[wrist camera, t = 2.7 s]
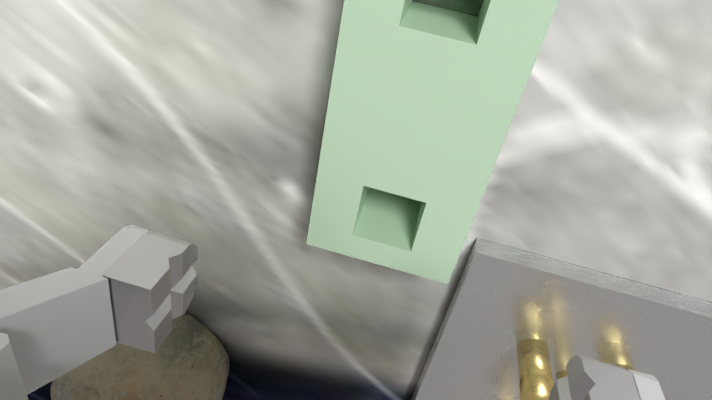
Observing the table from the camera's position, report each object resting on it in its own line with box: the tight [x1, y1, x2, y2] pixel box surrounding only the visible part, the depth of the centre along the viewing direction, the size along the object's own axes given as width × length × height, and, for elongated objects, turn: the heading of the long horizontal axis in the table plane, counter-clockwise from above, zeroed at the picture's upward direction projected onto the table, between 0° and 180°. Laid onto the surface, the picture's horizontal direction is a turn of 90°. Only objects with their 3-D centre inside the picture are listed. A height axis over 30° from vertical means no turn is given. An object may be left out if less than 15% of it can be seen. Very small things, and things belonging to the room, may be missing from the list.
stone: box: [51, 313, 229, 400], centre depth 32 cm, size 10×10×10 cm
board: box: [306, 0, 559, 284], centre depth 20 cm, size 14×6×4 cm, turn 169°
